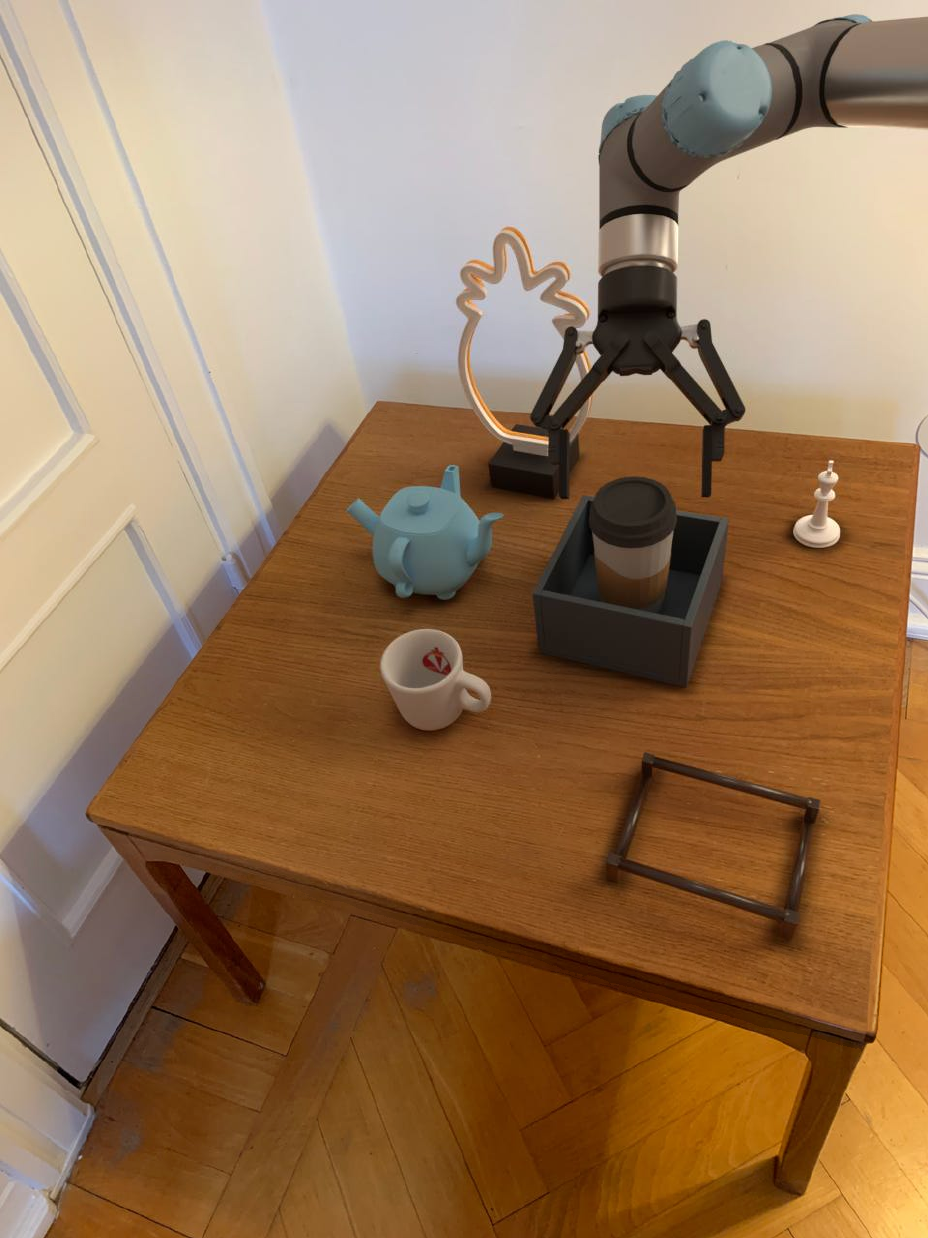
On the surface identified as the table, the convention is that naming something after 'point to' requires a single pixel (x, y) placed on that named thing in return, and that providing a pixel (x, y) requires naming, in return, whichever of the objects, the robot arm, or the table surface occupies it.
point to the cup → (430, 679)
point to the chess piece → (820, 515)
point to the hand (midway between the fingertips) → (633, 497)
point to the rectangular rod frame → (784, 916)
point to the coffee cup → (633, 542)
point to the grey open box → (624, 634)
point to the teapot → (427, 538)
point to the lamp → (524, 446)
